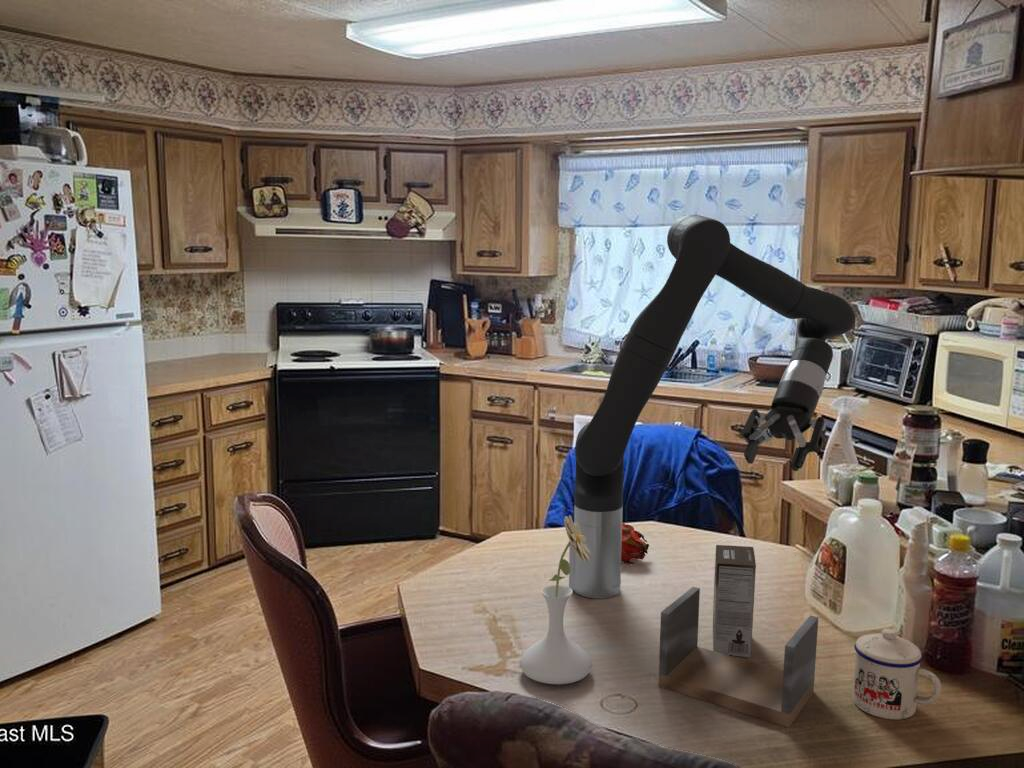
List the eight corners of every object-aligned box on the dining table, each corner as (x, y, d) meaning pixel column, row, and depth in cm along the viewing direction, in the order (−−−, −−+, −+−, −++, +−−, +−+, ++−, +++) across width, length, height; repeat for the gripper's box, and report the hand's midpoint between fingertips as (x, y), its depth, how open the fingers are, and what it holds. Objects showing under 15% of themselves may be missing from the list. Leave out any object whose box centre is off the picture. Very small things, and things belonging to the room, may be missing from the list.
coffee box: (711, 630, 152) (715, 543, 150) (749, 634, 151) (753, 545, 148) (712, 654, 143) (716, 562, 141) (752, 658, 142) (757, 565, 139)
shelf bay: (658, 685, 133) (660, 612, 131) (690, 655, 143) (692, 586, 141) (788, 727, 122) (793, 647, 120) (813, 691, 132) (818, 617, 130)
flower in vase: (570, 699, 129) (572, 538, 125) (505, 679, 135) (506, 525, 131) (608, 664, 140) (612, 515, 136) (547, 646, 146) (548, 503, 142)
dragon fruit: (605, 556, 192) (644, 581, 183) (585, 542, 187) (623, 566, 177) (626, 524, 193) (665, 546, 184) (606, 508, 188) (645, 531, 179)
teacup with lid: (840, 705, 128) (846, 631, 126) (864, 683, 134) (869, 612, 132) (926, 737, 120) (933, 658, 118) (947, 711, 126) (954, 636, 124)
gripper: (756, 375, 162) (727, 448, 156) (831, 382, 153) (803, 460, 147) (769, 398, 167) (741, 469, 161) (843, 405, 158) (815, 482, 152)
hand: (770, 465), depth 154 cm, fingers open, 8 cm apart
